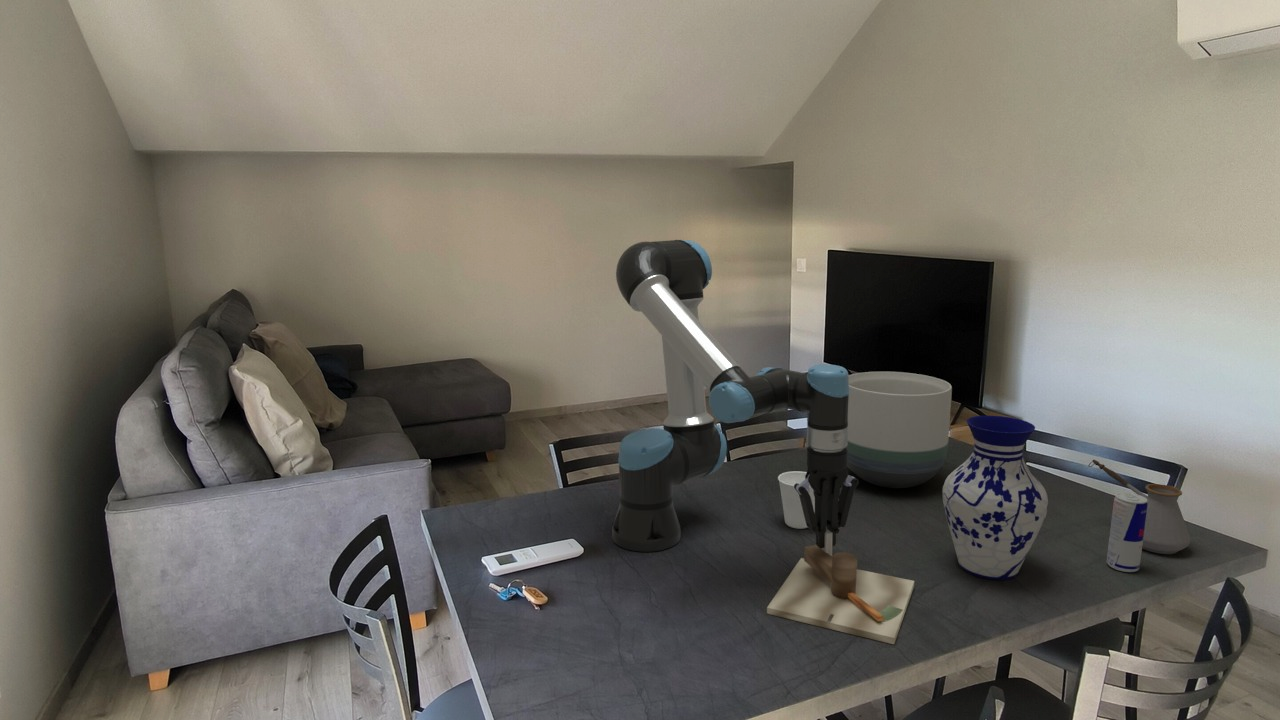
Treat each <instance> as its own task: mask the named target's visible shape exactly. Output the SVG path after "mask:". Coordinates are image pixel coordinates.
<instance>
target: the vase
mask: <svg viewBox="0 0 1280 720" xmlns="http://www.w3.org/2000/svg"><path fill="white" fill-rule="evenodd" d="M966 423H967V426H968V428H969V429H970V432H971V434H972V437H973V442H974V443H973V444H974V446H973V449H972V453H971V455H969V457H968V458H967V459H966V460H965V461H964V462H963V463H961V464H960V465H959V466H958V467H957V468H955V469H954V470H953V471H951V473H950V474H949V475H947V477H946V479H945V480H944V484H943V486H942V502H943V508H944V512H945V517H946V520H947V525H948V528H949V532H950V536H951V540H952V543H953V546H954V549H955V554H956V558H957V562H958V565H959V566H960V568H961V569H963V570H964V571H965V572H966V573H968V574H971V575H972V576H976V577H979V578H982V579H987V580H994V581H1004V580H1005V581H1006V580H1010V579H1013V578H1015V577H1016V576H1018V574H1019V571H1020V570H1021V567H1022V565H1023V563H1024V561H1025V559H1026V558H1027V555H1028V554H1029V552H1030V550H1031V548H1032V546H1033V544H1034V542H1035V540H1036V538H1037V537H1038V534H1039V532H1040V530H1041V528H1042V525H1043V524H1044V521H1045V520H1046V516H1047V514H1048V509H1049V498H1048V494H1047V492H1046V489H1045V487H1044V486H1043V484H1042V483H1041V482H1040V480H1039V479H1038V478H1037V477H1036V475H1034V473H1033V472H1032V471H1031V470H1030V469H1029V467H1028V465H1027V463H1026V461H1025V459H1024V455H1023V454H1024V453H1023V452H1024V447H1025V445H1026V442H1027V441H1028V439H1029V438H1030V436H1031V435H1032V434H1033V432H1034V431H1035V429H1036V426H1035V425H1034V424H1033V423H1031V422H1029V421H1026V420H1023V419H1019V418H1014V417H1010V416H1004V415H1003V416H1002V415H976V416H971V417H968V418H967V419H966Z"/></svg>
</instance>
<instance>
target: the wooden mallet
mask: <svg viewBox="0 0 1280 720" xmlns="http://www.w3.org/2000/svg"><path fill="white" fill-rule="evenodd" d="M803 553H804V555H803V558H804V561H805V562H806V563H807V564H809V565H810V566H811V567H812V568H814V569H815V570H816V571H817V572H819V573H820V574H821V575H822V576H824V577H825V578H826V579H827V580H829V581H830V582H831V592H832V593H833V594H834V595H836V596H838V597H843V598H849V599H851V600H852V601H853V602H854V603H856V604H857V605H858V606H859V607H861V608H862V609H863V610H864V611H866V612H867V613H868V614H869V615H871V616H872V617H873V618H874V619H876V620H877V621H883V616H882V615H881V614H880V613H878V612H877V611H876V610H875V609H873V608H872V607H871V606H870V605H868V604H867V603H866V602H864V601H863V600H862V599H861V598H859V597H858V596H857V595H856V575H857V569H858V557H857V556H856V555H855V554H853V553H849V552H845V551H844V552H843V551H842V552H835V553H834V554H833V553H832V556H831V555H829V554H828V553H825V552H824V551H823V550H822V549H821V548H819V547H818V546H817V545H816V544H812V545H807V546H804V552H803Z"/></svg>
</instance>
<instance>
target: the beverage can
mask: <svg viewBox="0 0 1280 720" xmlns="http://www.w3.org/2000/svg"><path fill="white" fill-rule="evenodd" d="M1114 496H1115V497H1114V498H1113V505H1112V513H1111V522H1110V530H1109V538H1108V545H1107V546H1108V547H1107V555H1106V564H1108V566H1109V567H1110V568H1112V569H1114V570H1117V571H1118V572H1119V571H1120V572H1123V573H1124V572H1125V573H1135V572H1138V571H1139V570H1140V568H1141V567H1140V566H1141V560H1142V559H1141V557H1142V551H1143V549H1142V544H1143V537H1144V529H1145V521H1146V514H1147V506H1148V504H1147V499H1146V498H1145V497H1143V496H1141V495H1138V494H1136V493H1135V492H1134V493H1132V492H1125V491H1124V492H1123V491H1122V492H1121V491H1120V492H1116V493H1115V495H1114Z"/></svg>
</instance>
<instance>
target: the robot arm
mask: <svg viewBox="0 0 1280 720" xmlns="http://www.w3.org/2000/svg"><path fill="white" fill-rule="evenodd" d="M712 273H713V267H712V261H711V259H710V256H709V253H708V252H707V251H706V249H705V248H703V247H702V246H701V245H700V244H699V243H698V242H695V241H694V240H693V241H692V240H688V239H687V240H684V239H674V240H672V239H671V240H658V241H656V240H655V241H640V242H636V243H635V244H632V245H631V246H628V247H627V249H625V250H624V251H623V253H622V254H621V256H620V258H619V259H618V262H617V264H616V269H615V278H616V284H617V287H618V290H619V292H620V295H621V296H622V297H623V298H624V300H625V302H627V304H628V305H629V306H630V307H631V309H632V310H634V311H635V312H641V313H642V314H643V316H645V317H646V318H647V320H648V321H649V322H650V323H651V325H652V326H653V327H654V328H655V330H656V331H657V332H658V333H659V334H660V336H661V341H662V342H661V343H662V353H663V365H664V373H665V374H664V375H665V376H664V377H665V387H666V396H667V408H668V415H667V417H666V418H665V419H664V420H663V422H662V426H663V427H662V428H663V429H660V428H648V429H640V430H635V431H633V432H632V433H631V432H630V433H629V434H627V435H626V436H624V438H622V440H621V442H620V443H619V449H618V450H619V452H618V454H619V455H618V457H617V462H618V469H619V470H618V477H619V479H618V480H619V483H618V484H619V505H618V509H617V511H616V515H615V518H614V522H613V525H612V528H611V529H612V530H611V534H612V535H611V537H612V541H613V543H615V544H616V545H617V546H618V547H621V548H623V549H625V550H630V551H634V552H643V553H645V552H647V553H648V552H659V551H663V550H664V551H665V550H667V549H670V548H672V547H674V546H675V545H677V544H678V543H679V542H680V540H681V537H682V535H681V531H682V530H681V525H680V521H679V519H678V515H677V513H676V510H675V508H674V507H675V506H674V502H673V501H674V500H673V499H674V498H673V496H674V495H673V492H674V491H673V490H674V489H673V487H675V486H678V485H681V484H684V483H687V482H690V481H694V480H697V479H702V478H705V477H708V476H710V475H711V474H713V473H715V472H716V471H718V470H719V469H720V468H721V467H722V466H723V464H724V463H725V460H726V456H727V451H728V447H727V446H728V445H727V439H726V436H725V434H724V433H722V429H721V428H720V427H719V426H718V425H717V424H715V418H716V419H717V420H718V421H720V422H722V423H723V424H724V423H725V424H732V423H737V422H738V423H741V422H745V421H747V420H749V419H752V418H755V417H759V416H762V415H767V414H771V413H775V412H779V411H782V410H792V411H795V412H800V413H805V414H806V417H807V418H806V421H807V422H806V425H807V427H806V428H807V429H806V444H807V445H808V446H807V447H806V466H807V471H806V472H807V473H806V475H805V480H804V481H803V482H802V483H800V484H799V483H796V484H795V485H794V488H795V490H796V491H797V492H798V494H799V497H800V501H801V505H802V509H803V513H804V517H805V521H806V525H807V527H808V528H807V529H809V530H811V531H812V532H813V533H815V545H817V546H818V547H819V548H821V549H822V550H823V551H824V552H825V553H828V554H829V555H831V556H833V547H835V546H836V545H837V541H836V540H837V534H839V532H840V528H844V527H846V524H847V520H848V517H849V513H850V508H851V505H852V501H853V496H854V493H855V491H856V489H857V486H858V485H859V483H860V481H859V479H858V478H856V477H854V476H853V475H849V472H848V469H847V467H848V466H847V455H848V450H847V449H846V446H847V444H848V401H849V392H850V389H849V380H848V376H849V372H848V370H847V369H846V368H845V367H844V366H840V365H836V364H816V365H812V366H810V367H809V368H808V371H807V372H806V373H805V372H800V371H795V370H791V369H786V368H782V367H771V366H770V367H768V366H767V367H763V368H762V369H760V371H759V372H758V373H757V374H755V375H754V376H749V375H748V374H747V373H746V372H745V370H743V368H742V367H741V366H740V365H739V364H738V363H737V361H735V360H734V358H733V357H732V356H731V355H730V354H729V353H728V352H727V351H726V350H725V348H724V347H723V346H722V345H721V344H720V343H719V342H718V340H717V339H716V338H715V337H714V335H712V334H711V333H710V332H709V330H708V329H707V328H706V327H705V326H704V325H703V324H702V323H701V321H699V310H698V309H699V305H700V304H701V303H702V301H703V300H704V289H706V288H707V287H708V286H709V284H710V281H711V279H712V276H713V275H712ZM705 389H707V390H708V392H709V396H708V405H709V407H710V409H711V413H712V415H713V416H712V415H711V414H709V413H708V411H707V403H706V390H705ZM809 486H811V488H812V489H813V490H814V496H815V513H814V509H813V505H812V501H811V497H810V495H809V492H810V489H809Z"/></svg>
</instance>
